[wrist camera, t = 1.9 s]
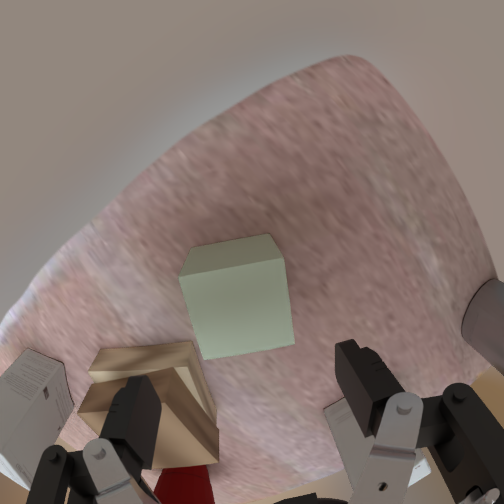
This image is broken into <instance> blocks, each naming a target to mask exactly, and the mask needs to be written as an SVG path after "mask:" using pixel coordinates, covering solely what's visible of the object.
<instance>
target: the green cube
mask: <svg viewBox="0 0 504 504" xmlns="http://www.w3.org/2000/svg"><path fill="white" fill-rule="evenodd" d="M178 279H179V282H180V286H181V289H182V293H183V296H184V300H185V303H186V306H187V310H188V313H189V316H190V320H191V323H192V326H193V329H194V332H195V335H196V338H197V341H198V344H199V347H200V350H201V353H202V356H203V359H204V360H208V359H215V358H222V357H229V356H235V355H241V354H247V353H253V352H258V351H264V350H269V349H274V348H279V347H284V346H289V345H293V344H295V342H294V333H293V325H292V316H291V308H290V300H289V293H288V285H287V277H286V270H285V263H284V257H283V255H282V254H281V252H280V250H279V249H278V247H277V245H276V244H275V242H274V240H273V239H272V237H271V235H270V234H269V233H268V234H262V235H257V236H251V237H246V238H240V239H235V240H230V241H224V242H219V243H214V244H209V245H203V246H198V247H193V248H191V249H190V252H189V254H188V256H187V258H186V260H185V263H184V265H183V267H182V269H181V271H180V274H179V276H178Z"/></svg>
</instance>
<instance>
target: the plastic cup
mask: <svg viewBox="0 0 504 504" xmlns="http://www.w3.org/2000/svg"><path fill="white" fill-rule="evenodd" d="M153 493H154V494H155V495H156V497H157V498H158V499H159V501H160V502H161V503H162V504H215V502H214V497H213V491H212V486H211V484H210V479H209V474H208V469H207V467H206V465H197V466H188V467H176V468H163V471H162V473H161V476H160V477H159V479H158V482H157V484H156V487H155V489H154V492H153Z"/></svg>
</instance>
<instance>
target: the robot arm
mask: <svg viewBox="0 0 504 504" xmlns="http://www.w3.org/2000/svg"><path fill="white" fill-rule="evenodd" d="M462 336H463V338H464V340H465V341H466V342H467V343H468V344H470V345H471V346H472V347H473V348H474V349H475V350H476V351H477V352H478V353H480V354H481V355H482V356H483V357H484V358H485V359H486V360H487V361H488V362H489V363H490V364H491V365H492V366H493V367H495V368H496V369H497V370H498V371H499V372H500V373H501V374H502V375H503V376H504V283H503V282H501V281H499V280H497V279H492V280H490V281H488V282H487V283H486V284H484V285H483V286H482V287H481V288H480V290H479V291H478V292H477V294H476V295H475V297H474V298H473V300H472V301H471V303H470V305H469V307H468V309H467V312H466V314H465V317H464V321H463V326H462ZM335 375H336V379H337V382H338V384H339V386H340V388H341V390H342V392H343V394H344V396H345V398H346V400H347V402H348V404H349V406H350V408H351V410H352V412H353V414H354V416H355V419H356V421H357V423H358V425H359V427H360V429H361V431H362V433H363V435H364V437H365V438H367V437H369V436H372V435H373V436H374V438H375V442H374V444H373V447H372V449H371V451H370V454H369V457H368V459H367V462H366V464H365V467H364V469H363V472H362V474H361V476H360V479H359V481H358V483H357V485H356V488H355V490H354V492H353V494H352V497H351V498H350V500H349V502H347V501H343V500H339V499H332V498H317V495H316V493H311V494H307V495H303V496H298V497H293V498H289V499H284V500H281V501H279V502H276V503H274V504H402V503H403V500H404V497H405V494H406V491H407V488H408V485H409V481H410V478H411V474H412V471H413V467H414V463H415V459H416V453H415V449H417V448H422V447H427V448H428V449H429V451H430V453H431V455H432V457H433V459H434V461H435V463H436V465H437V466H438V469H439V470H440V472H441V475H442V477H443V479H444V481H445V483H446V485H447V487H448V489H449V491H450V493H451V495H452V497H453V499H454V501H455V503H456V504H504V429H503V428H502V426H501V425H500V424H499V422H498V421H497V420H496V418H495V417H494V416H493V414H492V413H491V412H490V410H489V409H488V408H487V407H486V405H485V404H484V403H483V402H482V400H481V399H480V398H479V397H478V395H477V394H476V393H475V391H474V390H473V389H472V388H471V387H470V386H469V385H467V384H464V383H454V384H451V385H449V386H448V387H447V388H446V389H445V390H444V392H443V395H440V396H435V397H429V398H420V397H419V396H417V395H416V394H414V393H410V392H405V390H404V389H403V388H402V386H401V385H400V384H399V382H398V381H397V380H396V378H395V377H394V375H393V374H392V373H391V371H390V370H389V369H388V368H387V366H386V365H385V363H384V362H382V359H381V358H380V357H379V355H378V354H377V353H376V352H375V351H373V350H372V349H370V348H368V347H364V348H361V349H360V347H359V346H358V344H357V343H356V342H355V340H354V339H350V340H347V341H343V342H339V343H336V344H335ZM161 412H162V405H161V401H160V398H159V396H158V394H157V393H156V391H155V389H154V387H153V385H152V383H151V381H150V379H149V377H148V376H147V375H138V376H130V377H129V378H128V381H127V383H126V386H125V387H121V388H120V390H119V391H118V392H117V393H116V394H115V395H114V398H113V400H112V403H111V406H110V408H109V413H107V416H106V419H105V422H104V424H103V427H102V430H101V433H100V436H99V438H98V439H94V440H92V441H90V442H89V443H87V444H86V446H85V447H84V449H83V450H81V451H75V452H67V451H66V450H65V449H64V448H63V447H62V446H60V445H52V446H49V447H48V448H46V449H45V450H44V452H43V454H42V456H41V459H40V461H39V464H38V467H37V470H36V473H35V476H34V479H33V482H32V485H31V488H30V492H29V495H28V498H27V502H26V504H64V501H65V496H66V492H67V488H68V487H69V488H70V493H69V498H68V502H67V504H162V503H161V502H160V501H159V499H158V498H157V497H156V495H155V494H154V493H153V491H152V490H151V488H150V487H149V486H148V484H147V483H146V481H145V480H144V478H143V477H142V476H141V471H142V469H149V470H151V469H152V463H153V457H154V451H155V445H156V439H157V434H158V428H159V423H160V418H161Z"/></svg>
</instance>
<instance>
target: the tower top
mask: <svg viewBox="0 0 504 504" xmlns="http://www.w3.org/2000/svg"><path fill="white" fill-rule="evenodd" d="M140 375H147V376H148V377H149V379H150V381H151V383H152V385H153V387H154V389H155V391H156V393H157V394H158V396H159V398H160V401H161V405H162V412H161V418H160V423H159V428H158V434H157V439H156V445H155V451H154V457H153V463H152V469H160V468H176V467H188V466H197V465H205V464H212V463H219V429H218V428H217V427H216V425H215V424H214V423H213V422H212V420H211V419H210V418H209V416H208V415H207V414H206V413H205V411H204V410H203V409H202V407H201V406H200V405H199V403H198V402H197V400H196V399H195V398H194V396H193V395H192V394H191V392H190V391H189V389H188V388H187V386H186V385H185V384H184V382H183V381H182V379H181V378H180V376H179V375H178V373H177V372H176V370H175V369H174V367H170V368H166V369H162V370H158V371H154V372H149V373H145V374H140ZM136 376H138V375H136ZM128 378H129V377H126V378H121V379H116V380H111V381H106V382H100V383H94V384H91V386H90V388H89V390H88V392H87V394H86V396H85V398H84V400H83V402H82V404H81V406H80V408H79V410H78V412H77V414H78V415H79V416H80V417H81V418H82V420H83V421H84V422H85V423H86V424H87V425H88V426H89V427H90V428H91V429H92V430H93V431H94V432H95V433H96V434H97V435H98V436H100V433H101V430H102V427H103V424H104V422H105V419H106V416H107V413H109V408H110V406H111V403H112V400H113V398H114V395H115V394H116V393H117V392H118V391H119V390H120V388H121V387H125V386H126V383H127V381H128Z"/></svg>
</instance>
